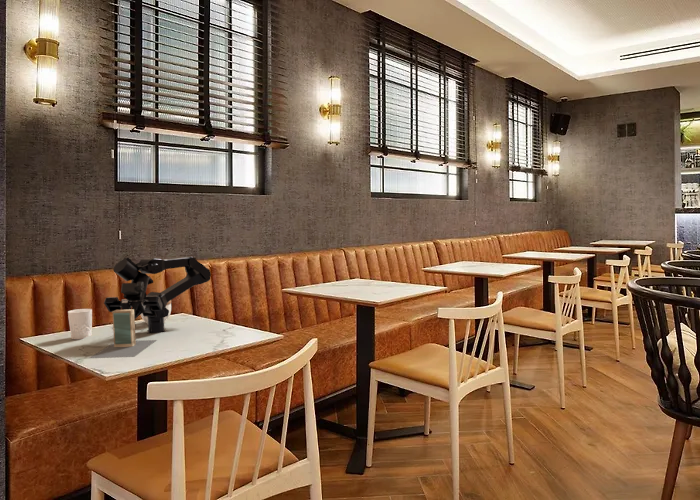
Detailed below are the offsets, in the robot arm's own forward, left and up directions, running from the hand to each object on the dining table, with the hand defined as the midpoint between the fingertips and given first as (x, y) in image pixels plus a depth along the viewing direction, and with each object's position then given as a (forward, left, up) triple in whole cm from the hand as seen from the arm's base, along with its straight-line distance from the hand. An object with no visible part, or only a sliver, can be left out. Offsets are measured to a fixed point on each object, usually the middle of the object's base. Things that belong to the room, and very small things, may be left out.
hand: (128, 324), depth 185 cm
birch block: (+4, -1, -6) cm, 8 cm away
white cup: (-20, -17, -7) cm, 27 cm away
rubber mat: (+8, -1, -7) cm, 11 cm away
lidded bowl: (-36, +9, -7) cm, 38 cm away
